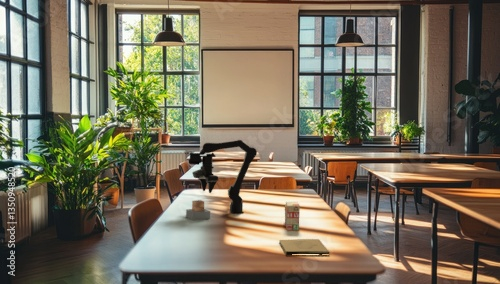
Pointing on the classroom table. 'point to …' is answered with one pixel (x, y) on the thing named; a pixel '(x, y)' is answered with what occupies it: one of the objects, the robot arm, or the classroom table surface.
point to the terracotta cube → (198, 205)
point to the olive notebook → (303, 246)
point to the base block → (198, 214)
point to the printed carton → (292, 215)
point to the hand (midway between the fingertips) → (206, 191)
